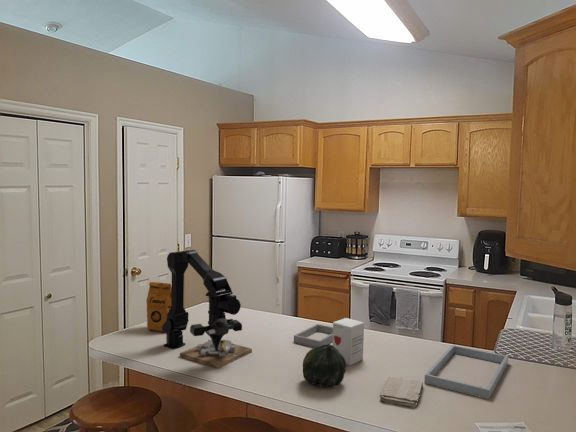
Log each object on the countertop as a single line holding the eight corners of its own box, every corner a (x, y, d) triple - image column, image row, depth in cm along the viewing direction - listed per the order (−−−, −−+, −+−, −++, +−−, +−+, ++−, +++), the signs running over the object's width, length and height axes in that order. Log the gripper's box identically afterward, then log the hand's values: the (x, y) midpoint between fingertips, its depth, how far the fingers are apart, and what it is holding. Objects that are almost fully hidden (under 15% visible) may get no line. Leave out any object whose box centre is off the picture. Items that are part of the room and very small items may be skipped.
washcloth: (378, 403, 151) (378, 394, 151) (388, 381, 168) (388, 372, 167) (417, 410, 147) (417, 400, 146) (423, 386, 163) (423, 378, 163)
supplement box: (331, 359, 186) (331, 321, 184) (344, 353, 192) (345, 317, 191) (350, 366, 179) (351, 327, 178) (363, 359, 186) (364, 322, 185)
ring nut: (205, 361, 178) (205, 343, 177) (193, 347, 193) (193, 330, 192) (241, 356, 184) (241, 338, 183) (227, 342, 199) (227, 326, 198)
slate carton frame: (424, 383, 165) (424, 374, 165) (452, 352, 195) (452, 344, 195) (489, 399, 154) (489, 390, 153) (507, 363, 184) (508, 356, 183)
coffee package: (166, 334, 212) (166, 286, 210) (143, 331, 216) (143, 283, 215) (179, 328, 221) (179, 281, 220) (157, 325, 226) (156, 279, 224)
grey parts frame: (293, 342, 204) (293, 335, 204) (317, 330, 221) (317, 323, 221) (320, 348, 197) (320, 341, 197) (342, 335, 214) (342, 329, 213)
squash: (302, 356, 174) (304, 335, 163) (343, 359, 173) (348, 338, 163) (301, 394, 164) (302, 375, 153) (344, 397, 164) (349, 378, 153)
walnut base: (179, 356, 186) (179, 352, 186) (214, 342, 203) (214, 338, 203) (218, 368, 175) (218, 364, 175) (251, 352, 192) (251, 348, 192)
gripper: (198, 317, 167) (197, 360, 169) (247, 312, 176) (247, 353, 177) (189, 309, 177) (189, 350, 178) (237, 304, 186) (236, 344, 187)
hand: (216, 349), depth 180 cm, fingers closed
